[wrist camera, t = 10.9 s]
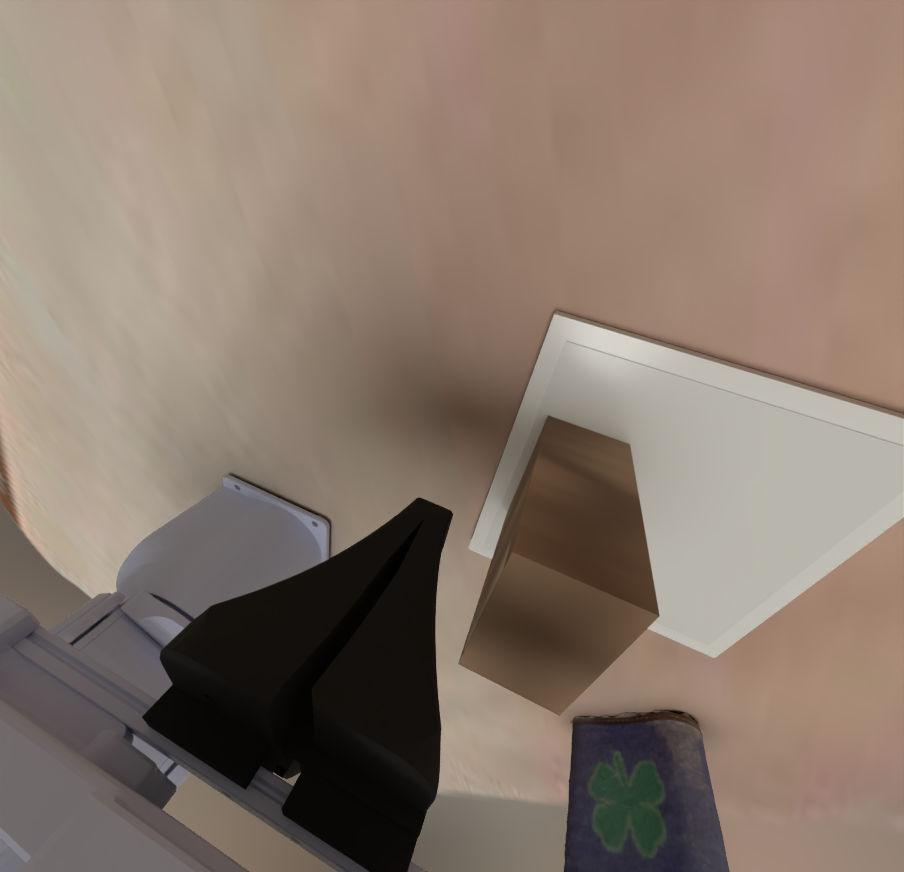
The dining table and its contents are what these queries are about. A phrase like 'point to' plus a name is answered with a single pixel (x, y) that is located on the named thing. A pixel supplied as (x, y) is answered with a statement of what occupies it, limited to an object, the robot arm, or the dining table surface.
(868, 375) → the dining table surface
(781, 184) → the dining table surface
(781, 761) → the dining table surface
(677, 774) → the flask
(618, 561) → the walnut block
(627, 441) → the stone board
